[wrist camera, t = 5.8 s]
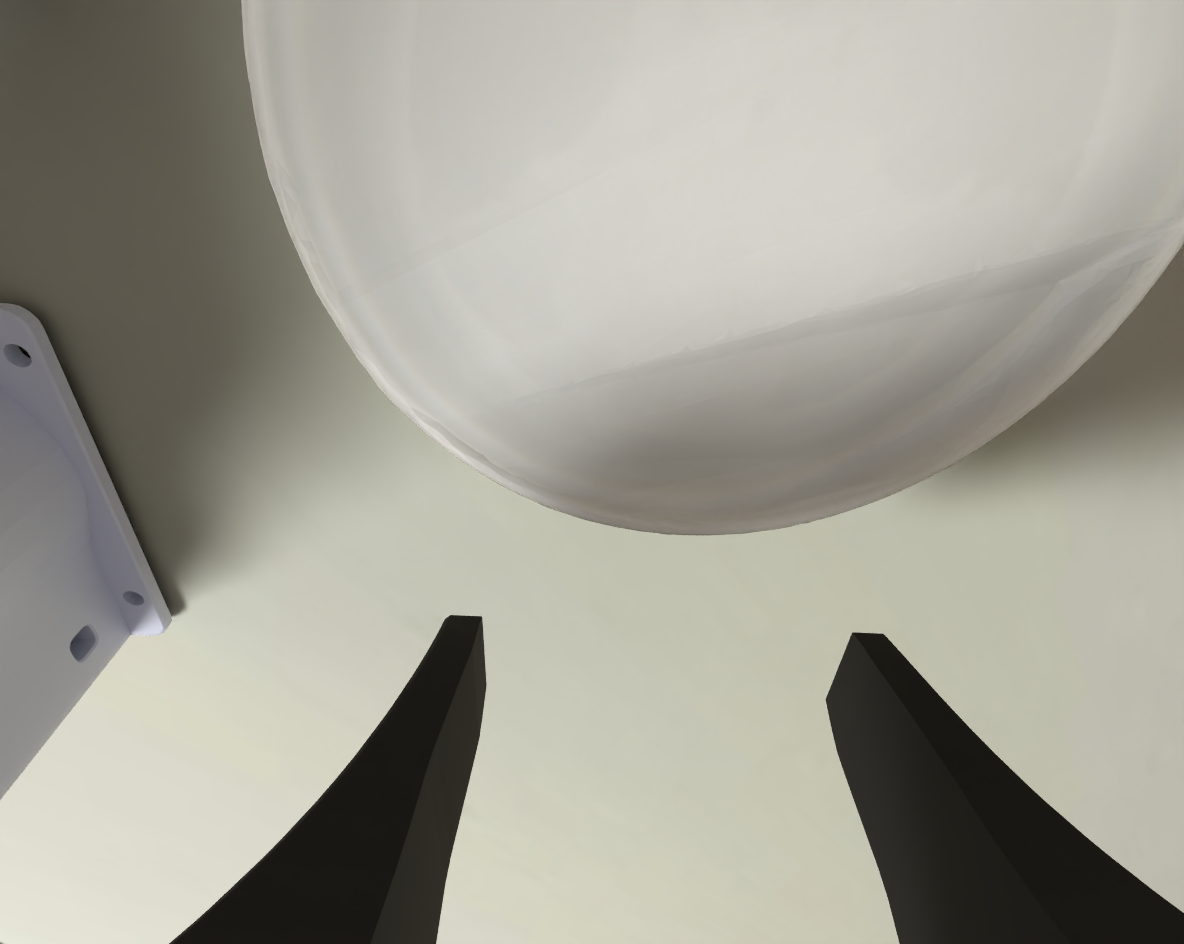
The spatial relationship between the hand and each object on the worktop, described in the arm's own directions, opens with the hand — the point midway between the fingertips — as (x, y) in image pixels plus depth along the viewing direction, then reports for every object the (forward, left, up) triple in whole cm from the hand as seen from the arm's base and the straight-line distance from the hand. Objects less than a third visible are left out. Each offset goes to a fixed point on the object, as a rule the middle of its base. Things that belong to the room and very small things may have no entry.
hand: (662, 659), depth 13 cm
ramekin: (+9, 0, -5) cm, 10 cm away
